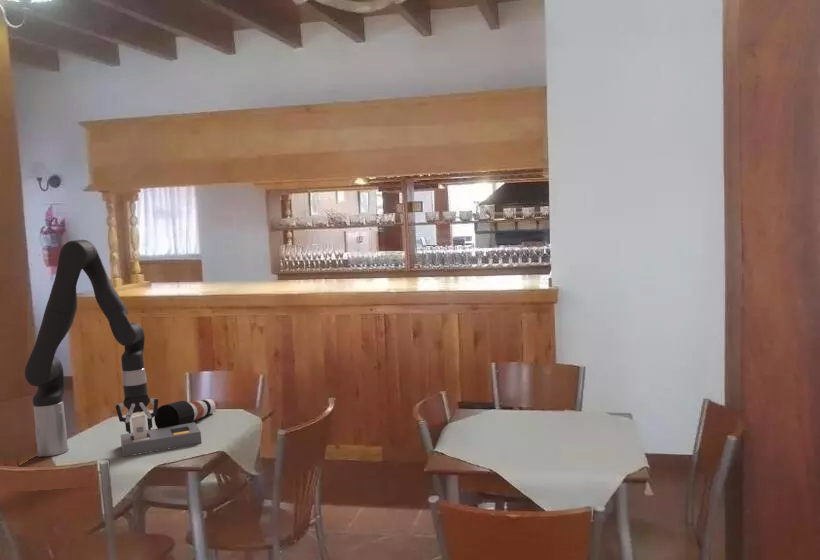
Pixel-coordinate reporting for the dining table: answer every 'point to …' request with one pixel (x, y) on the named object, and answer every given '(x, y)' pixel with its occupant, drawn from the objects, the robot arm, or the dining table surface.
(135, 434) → the plug
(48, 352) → the robot arm
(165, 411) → the black white red bottle
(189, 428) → the panel
